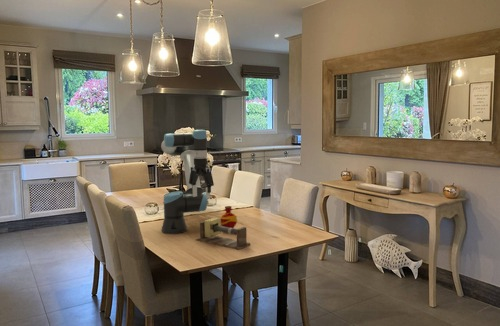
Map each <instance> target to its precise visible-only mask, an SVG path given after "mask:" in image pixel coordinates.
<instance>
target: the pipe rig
mask: <svg viewBox="0 0 500 326" xmlns="http://www.w3.org/2000/svg"><path fill="white" fill-rule="evenodd" d="M213 230H215V231H220V232H221V233H224V234H225V233H226V234H231V235H235V236H236V239H232V238H229V237H223V236H219V235H216V236H214V237H211V238H209V237H205V220H203V221H199V236H200V237H196V241H199V242H201V243H202V242H204V243H207V244H210V245H216V246H220V247H225V248H229V249H233V250H238V251H240V250H242V249H244V248H246V247H249V246H251V242H248V241H247V238H248V236H247V227H246V226H241V227H239V228H235V227H234V228H229V227H223V226H222V225H221V226H218V225H213Z"/></svg>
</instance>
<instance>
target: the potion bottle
mask: <svg viewBox="0 0 500 326" xmlns="http://www.w3.org/2000/svg"><path fill="white" fill-rule="evenodd" d="M224 208H225V209H224V211H225V212H224V213H223V214H222V215H221V216H220V218H221V226H223V227H229V228H234V229H235V226H237V223H238V219H237V217H238V216H237V215H236V214H235V213H232V210H233V209H232V205H226V206H224Z"/></svg>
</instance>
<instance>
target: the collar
mask: <svg viewBox="0 0 500 326" xmlns="http://www.w3.org/2000/svg"><path fill="white" fill-rule="evenodd" d="M204 221H205V237H209V238H211V237H214V236H219V235H221V234H222V232H220V231H215V230H213V225H218V226H222V225H221V217H217V216H216V217H212V218H208V219H205V220H204Z"/></svg>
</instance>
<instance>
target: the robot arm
mask: <svg viewBox="0 0 500 326" xmlns="http://www.w3.org/2000/svg"><path fill="white" fill-rule="evenodd" d="M207 137H208V135H207V131H206V130H205V129H195V130H194V129H193V131H192V132H184V133H182V132H181V133H165V134H164V135H163V141H162V142H161V145H160V147H161V151H162V152H163V153H164V154H166V155H169V156H173V157H174V156H175V157H176V156H177V157H180V159H181V160H182V162H183V169H184V175H185V183H186V190H185V192H183V191H181V190H177V191H171V192H168V193H165V195H164V196H163V201H162V202H163V217H164V219H163V223H162V225H161V232H162V233H164V234H169V235H170V234H172V235H173V234H181V233H185V232H187V231H188V225H187V223H186V220H185V216H184V213H185V214H186V213H195V212H196V213H200V212H205V211H206V210H207V207H208V202H209V201H208V200H209V199H210V198H211V192H212V187H214V186H215V183H214V179H213V174H212V168H211V167H208V166H207V165H208V158H207V157H208V145H207V144H208V138H207ZM200 175H201V176H202V177H203V180H204V182H205V185H206V186H205V191H204V188H203V187H201V180H200Z"/></svg>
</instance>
